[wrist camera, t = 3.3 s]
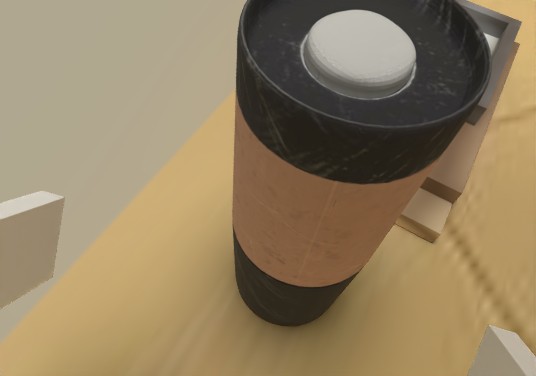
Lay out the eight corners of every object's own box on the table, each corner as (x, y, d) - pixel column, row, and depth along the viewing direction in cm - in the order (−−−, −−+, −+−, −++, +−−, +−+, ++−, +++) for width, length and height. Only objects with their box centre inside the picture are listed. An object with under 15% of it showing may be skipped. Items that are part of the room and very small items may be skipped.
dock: (502, 68, 42) (532, 26, 38) (431, 242, 31) (463, 210, 27) (360, 9, 46) (373, -36, 42) (250, 147, 35) (252, 105, 30)
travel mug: (246, 344, 26) (275, 156, 9) (221, 237, 30) (210, -35, 13) (357, 315, 28) (554, 108, 11) (320, 216, 32) (424, -51, 15)
